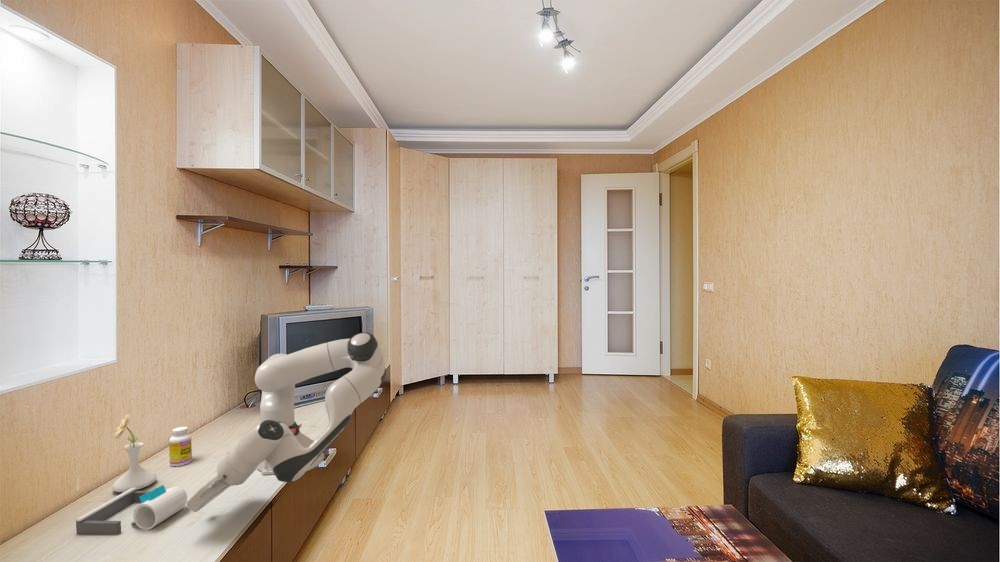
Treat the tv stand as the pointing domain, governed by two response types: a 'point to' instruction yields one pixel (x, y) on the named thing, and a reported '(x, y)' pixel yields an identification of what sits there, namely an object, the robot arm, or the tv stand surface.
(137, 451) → the flower in vase
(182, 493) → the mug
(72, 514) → the tv stand surface
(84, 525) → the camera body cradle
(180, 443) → the supplement bottle
